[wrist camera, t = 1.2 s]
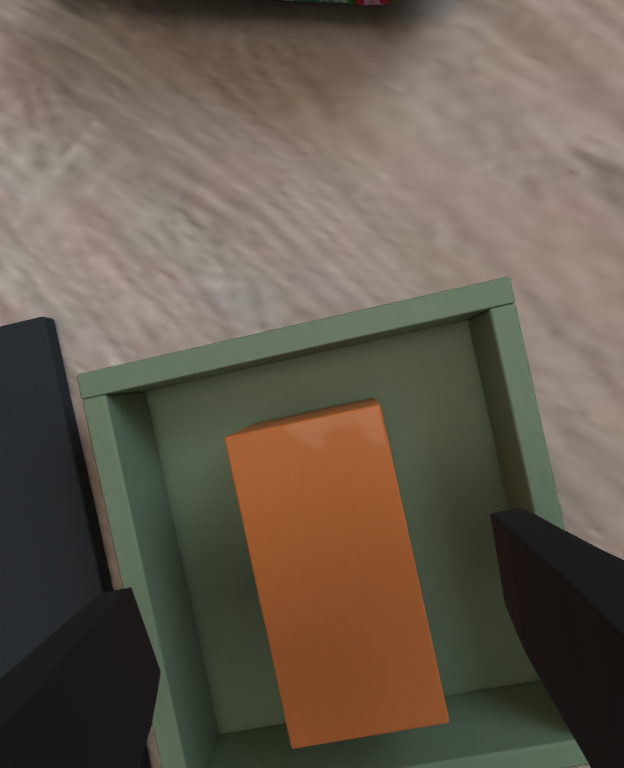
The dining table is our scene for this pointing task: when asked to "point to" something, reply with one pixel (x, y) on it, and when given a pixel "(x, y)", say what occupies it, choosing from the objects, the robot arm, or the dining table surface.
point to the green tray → (419, 500)
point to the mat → (42, 497)
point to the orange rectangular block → (336, 575)
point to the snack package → (353, 1)
